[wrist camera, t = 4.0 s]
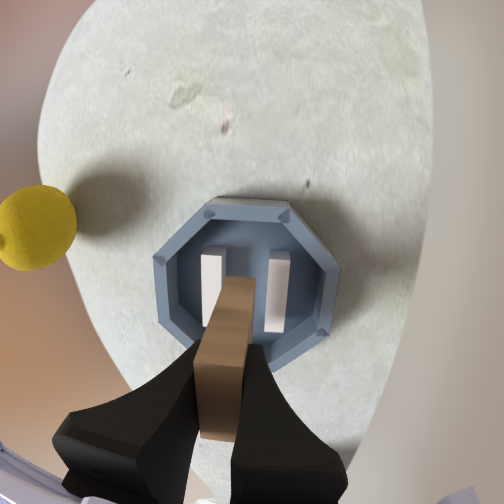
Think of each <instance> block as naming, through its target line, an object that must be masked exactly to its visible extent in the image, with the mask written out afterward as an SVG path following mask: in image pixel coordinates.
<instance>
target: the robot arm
mask: <svg viewBox="0 0 504 504" xmlns="http://www.w3.org/2000/svg"><path fill="white" fill-rule="evenodd" d="M201 340H202V339H197V340H196V341H195V342H194V343H193V344H192V345H191V346H190V347H189V348H188V349H187V350H186V351H185V352H184V353H183V354H182V355H181V356H180V357H179V358H178V359H176V360H175V361H174V362H173V363H172V364H171V365H170V366H169V367H167V368H166V369H165V370H164V371H162V372H161V373H160V374H158V375H157V376H156V377H154V378H153V379H152V380H150V381H149V382H147V383H146V384H144V385H142V386H141V387H139V388H137V389H136V390H134V391H132V392H130V393H128V394H126V395H124V396H121V397H119V398H117V399H115V400H112V401H110V402H108V403H104V404H101V405H98V406H95V407H92V408H88V409H83V410H79V411H75V412H70V413H69V415H68V416H67V417H66V418H65V420H64V421H63V422H62V424H61V426H60V427H59V428H58V430H57V431H56V433H55V435H54V436H53V438H52V443H53V446H54V448H55V450H56V452H57V453H58V454H59V456H60V457H61V459H62V460H63V461H64V463H65V464H66V466H67V467H68V468H69V471H68V472H67V474H66V476H65V478H64V480H63V479H61V478H58V477H57V476H55V475H53V474H51V473H49V472H47V471H45V470H43V469H41V468H40V467H38V466H36V465H34V464H32V463H31V462H29V461H27V460H26V459H24V458H22V457H21V456H19V455H17V454H16V453H14V452H13V451H11V450H10V449H8V448H6V447H5V446H4V445H3V443H2V441H1V440H0V503H1V504H183V501H184V496H185V490H186V483H187V478H188V473H189V468H190V463H191V458H192V453H193V449H194V444H195V441H196V438H197V435H198V432H199V429H200V428H199V419H198V410H197V399H196V389H195V377H194V364H193V361H194V359H195V356H196V353H197V351H198V348H199V346H200V343H201ZM347 486H348V478H347V474H346V471H345V468H344V465H343V463H342V460H341V458H340V456H339V454H338V453H337V452H336V451H334V450H333V449H332V448H330V447H329V446H328V445H326V444H325V443H324V442H323V441H321V440H320V439H319V438H318V437H317V436H316V435H315V434H314V433H313V432H312V431H311V430H310V429H309V428H308V427H307V426H306V425H305V424H304V423H303V422H302V421H301V419H300V418H299V417H298V416H297V415H296V413H295V412H294V411H293V410H292V408H291V407H290V405H289V404H288V402H287V401H286V399H285V398H284V396H283V395H282V393H281V391H280V389H279V388H278V386H277V384H276V382H275V380H274V378H273V375H272V373H271V371H270V368H269V366H268V363H267V360H266V356H265V352H264V347H263V346H262V345H261V344H248V349H247V355H246V361H245V367H244V388H243V401H242V407H241V413H240V418H239V424H238V429H237V434H236V439H235V443H234V448H233V452H232V457H231V499H230V504H338V500H339V499H340V497H341V496H342V494H343V493H344V492H345V490H346V489H347ZM436 504H480V503H479V500H478V498H477V496H476V493H475V490H474V488H473V487H472V486H470V487H468V488H466V489H463V490H460V491H458V492H455V493H452V494H450V495H447V496H445V497H444V498H442V499H441V500H439V501H438V502H437V503H436Z"/></svg>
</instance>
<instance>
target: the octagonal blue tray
mask: <svg viewBox="0 0 504 504" xmlns="http://www.w3.org/2000/svg"><path fill="white" fill-rule="evenodd" d="M153 265H154V278H155V290H156V301H157V311H158V320H159V321H158V322H159V323H160V324H161V325H162V326H163V327H164V328H165V329H166V330H167V331H168V332H169V333H171V334H172V335H173V336H174V337H175V338H176V339H177V340H178V341H179V342H180V343H181V344H183V345H184V346H185V347H186V348H187V349H188V348H189V347H190V346H191V345H192V344H193V343H194V342H195V341H196V340H197V339H202V338H203V335H204V332H205V330H206V327H207V325H208V322H209V319H210V317H211V314H212V312H213V309H214V307H215V304H216V301H217V299H218V296H219V294H220V291H221V289H222V286H223V283H224V281H225V278H226V276H233V277H246V278H256V288H255V305H254V322H253V338H252V344H261V345H262V346H263V347H264V352H265V356H266V360H267V363H268V366H269V368H270V371H271V372H273V373H274V372H276V371H277V370H279V369H280V368H282V367H283V366H285V365H287V364H288V363H290V362H291V361H293V360H294V359H296V358H297V357H299V356H300V355H302V354H303V353H305V352H306V351H308V350H309V349H311V348H312V347H313V346H315V345H316V344H318V343H319V342H321V341H322V340H323V339H325V338H326V337H328V336H329V335H330V334H329V333H330V328H331V322H332V317H333V311H334V306H335V300H336V294H337V287H338V281H339V275H340V270H341V267H340V266H339V264H338V262H337V260H336V259H335V257H334V255H333V254H332V252H330V251H329V249H328V248H327V247H326V246H325V245H324V243H323V242H322V241H321V240H320V239H319V237H318V236H317V235H316V234H315V233H314V232H313V230H312V229H311V228H310V227H309V226H308V225H307V223H306V222H305V221H304V220H303V219H302V218H301V217H300V215H299V214H298V213H297V212H296V211H295V210H294V209H293V207H292V206H291V205H290V204H289V203H288V201H281V200H265V199H246V198H222V197H214V198H212V199H211V200H209V201H208V202H206V203H205V204H204V206H203V207H202V208H200V209H199V210H198V211H197V212H196V213H195V214H194V215H193V216H192V217H191V218H190V219H189V220H188V221H187V222H186V223H185V224H184V225H183V226H182V227H181V228H180V229H179V230H178V231H177V232H176V233H175V234H174V235H173V236H172V237H171V238H170V239H169V240H168V241H167V242H166V243H165V244H164V245H163V246H162V248H161V249H160V250H159V251H157V252H156V253H155V254H154V255H153Z"/></svg>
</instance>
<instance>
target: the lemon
mask: <svg viewBox="0 0 504 504" xmlns="http://www.w3.org/2000/svg"><path fill="white" fill-rule="evenodd" d="M76 229H77V217H76V212H75V209H74V206H73V204H72V203H71V201H70V199H69V198H68V197H67V196H66V195H65V194H64V193H63V192H62V191H60V190H58V189H57V188H55V187H51V186H46V185H36V186H30V187H25V188H23V189H21V190H19V191H17V192H15V193H14V194H12V195H11V196H9V197H8V198H7V199H5V200H4V201H3V203H2V204H1V206H0V258H1V259H2V260H3V262H5V263H6V264H7V265H9V266H10V267H12V268H14V269H17V270H21V271H31V270H37V269H42V268H45V267H47V266H49V265H51V264H52V263H54V262H56V261H57V260H59V259H60V258H61V257H62V256H63V255H64V254H65V253H66V252H67V250H68V249H69V248H70V246H71V244H72V242H73V240H74V238H75V234H76Z"/></svg>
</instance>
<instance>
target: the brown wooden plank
mask: <svg viewBox="0 0 504 504" xmlns="http://www.w3.org/2000/svg"><path fill="white" fill-rule="evenodd" d="M255 288H256V278H246V277H233V276H226V278H225V281H224V283H223V286H222V289H221V291H220V294H219V296H218V299H217V301H216V304H215V307H214V309H213V312H212V314H211V317H210V319H209V322H208V325H207V327H206V330H205V332H204V335H203V338H202V340H201V343H200V346H199V348H198V351H197V353H196V356H195V359H194V361H193V364H194V377H195V389H196V399H197V410H198V419H199V428H200V437H201V438H203V439H210V440H217V441H225V442H235V439H236V434H237V429H238V424H239V418H240V413H241V407H242V401H243V388H244V367H245V361H246V355H247V349H248V344H252V338H253V322H254V305H255Z"/></svg>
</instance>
